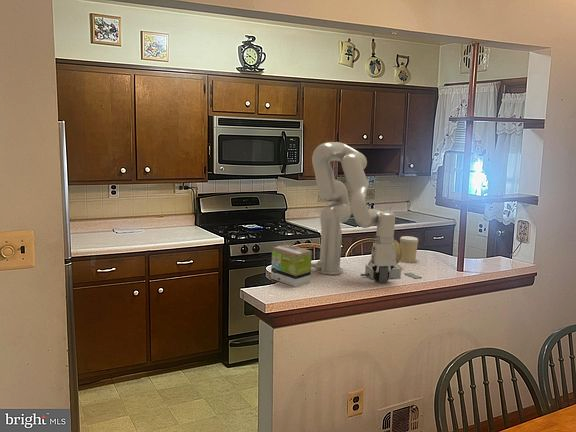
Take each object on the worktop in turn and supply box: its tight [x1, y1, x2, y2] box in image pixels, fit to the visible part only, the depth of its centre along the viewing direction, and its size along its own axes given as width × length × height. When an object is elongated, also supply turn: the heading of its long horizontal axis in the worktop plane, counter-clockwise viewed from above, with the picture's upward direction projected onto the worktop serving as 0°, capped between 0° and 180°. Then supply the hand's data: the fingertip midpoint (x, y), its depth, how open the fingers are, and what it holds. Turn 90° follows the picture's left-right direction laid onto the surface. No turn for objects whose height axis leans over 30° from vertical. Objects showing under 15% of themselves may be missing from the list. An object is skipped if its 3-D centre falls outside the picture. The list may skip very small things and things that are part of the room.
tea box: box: [270, 244, 313, 288], centre depth 234 cm, size 15×10×15 cm, turn 47°
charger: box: [374, 266, 389, 284], centre depth 239 cm, size 4×4×7 cm
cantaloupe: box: [371, 237, 402, 265], centre depth 263 cm, size 15×15×15 cm
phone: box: [403, 272, 422, 280], centre depth 250 cm, size 4×8×1 cm, turn 26°
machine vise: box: [360, 264, 402, 281], centre depth 247 cm, size 18×8×5 cm, turn 107°
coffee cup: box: [399, 235, 419, 263], centre depth 277 cm, size 9×9×12 cm
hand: (381, 279), depth 239 cm, fingers closed on charger, 4 cm apart
